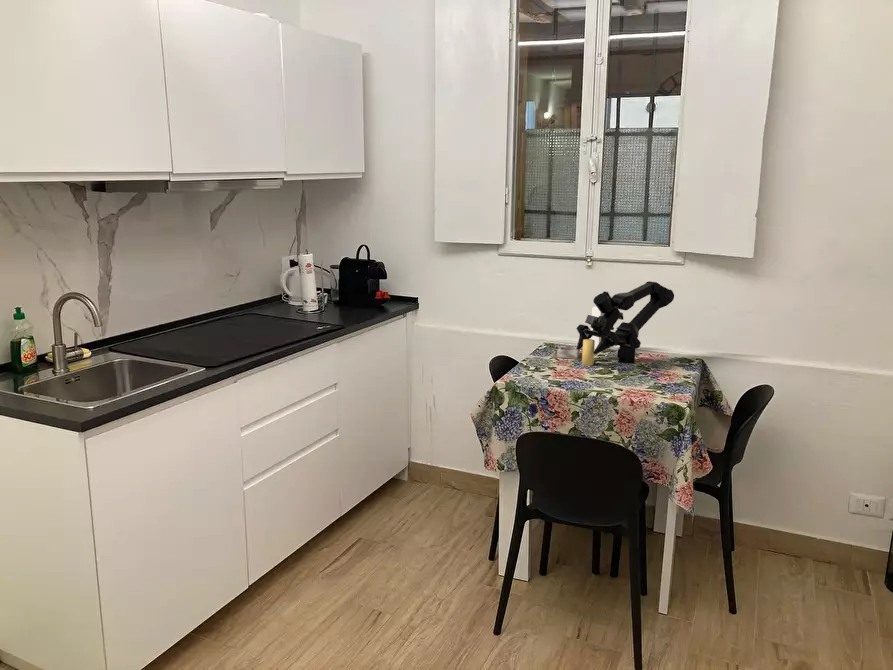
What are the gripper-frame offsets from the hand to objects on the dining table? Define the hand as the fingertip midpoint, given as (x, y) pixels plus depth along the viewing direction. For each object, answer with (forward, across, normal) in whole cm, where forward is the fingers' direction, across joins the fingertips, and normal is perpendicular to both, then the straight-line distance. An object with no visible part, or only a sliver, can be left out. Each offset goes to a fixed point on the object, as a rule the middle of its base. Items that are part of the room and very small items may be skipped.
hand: (585, 351), depth 274 cm
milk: (-14, -18, +24) cm, 33 cm away
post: (+4, 0, +6) cm, 7 cm away
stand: (+1, -15, +8) cm, 17 cm away
